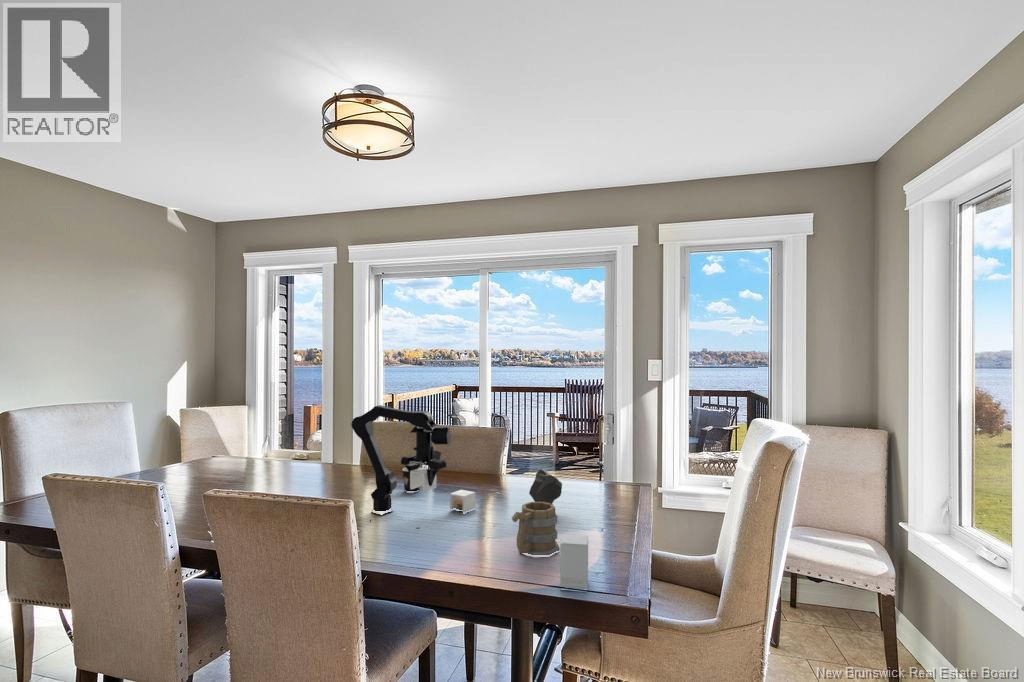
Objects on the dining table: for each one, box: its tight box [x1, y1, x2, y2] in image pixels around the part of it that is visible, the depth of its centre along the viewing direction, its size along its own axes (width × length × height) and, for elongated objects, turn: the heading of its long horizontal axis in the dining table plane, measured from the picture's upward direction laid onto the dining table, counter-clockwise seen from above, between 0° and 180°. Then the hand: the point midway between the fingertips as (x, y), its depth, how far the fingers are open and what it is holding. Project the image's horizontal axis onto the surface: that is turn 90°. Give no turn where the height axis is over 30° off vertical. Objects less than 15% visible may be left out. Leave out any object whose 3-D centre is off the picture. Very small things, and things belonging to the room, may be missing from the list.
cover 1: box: [410, 467, 437, 493], centre depth 202 cm, size 7×7×7 cm
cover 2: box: [449, 489, 476, 512], centre depth 207 cm, size 7×7×7 cm
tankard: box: [511, 501, 560, 555], centre depth 164 cm, size 20×13×15 cm, turn 141°
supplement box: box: [559, 533, 589, 590], centre depth 141 cm, size 7×7×13 cm
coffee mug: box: [402, 466, 421, 491], centre depth 233 cm, size 12×9×10 cm
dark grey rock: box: [529, 468, 563, 504], centre depth 201 cm, size 14×15×18 cm
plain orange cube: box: [456, 499, 463, 510], centre depth 207 cm, size 4×4×4 cm
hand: (423, 484), depth 202 cm, fingers closed on cover 1, 7 cm apart
